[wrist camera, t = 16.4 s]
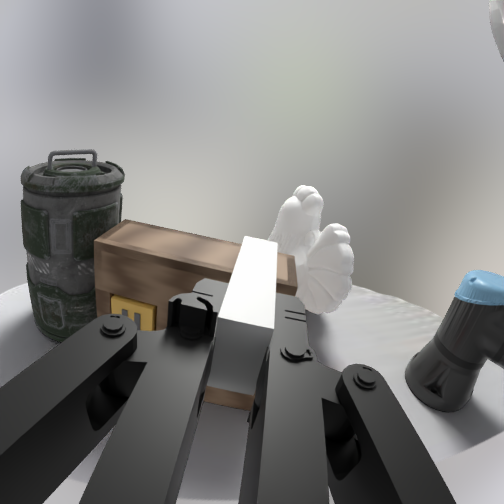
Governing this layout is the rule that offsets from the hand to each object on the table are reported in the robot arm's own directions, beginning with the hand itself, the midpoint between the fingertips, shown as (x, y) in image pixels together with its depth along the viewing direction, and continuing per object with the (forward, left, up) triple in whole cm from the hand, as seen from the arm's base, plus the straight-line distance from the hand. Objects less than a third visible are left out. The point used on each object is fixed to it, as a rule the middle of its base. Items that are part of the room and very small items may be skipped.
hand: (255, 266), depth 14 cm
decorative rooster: (-9, -42, -28) cm, 52 cm away
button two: (+12, -16, -19) cm, 28 cm away
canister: (+27, -23, -28) cm, 45 cm away
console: (+6, -18, -28) cm, 34 cm away
